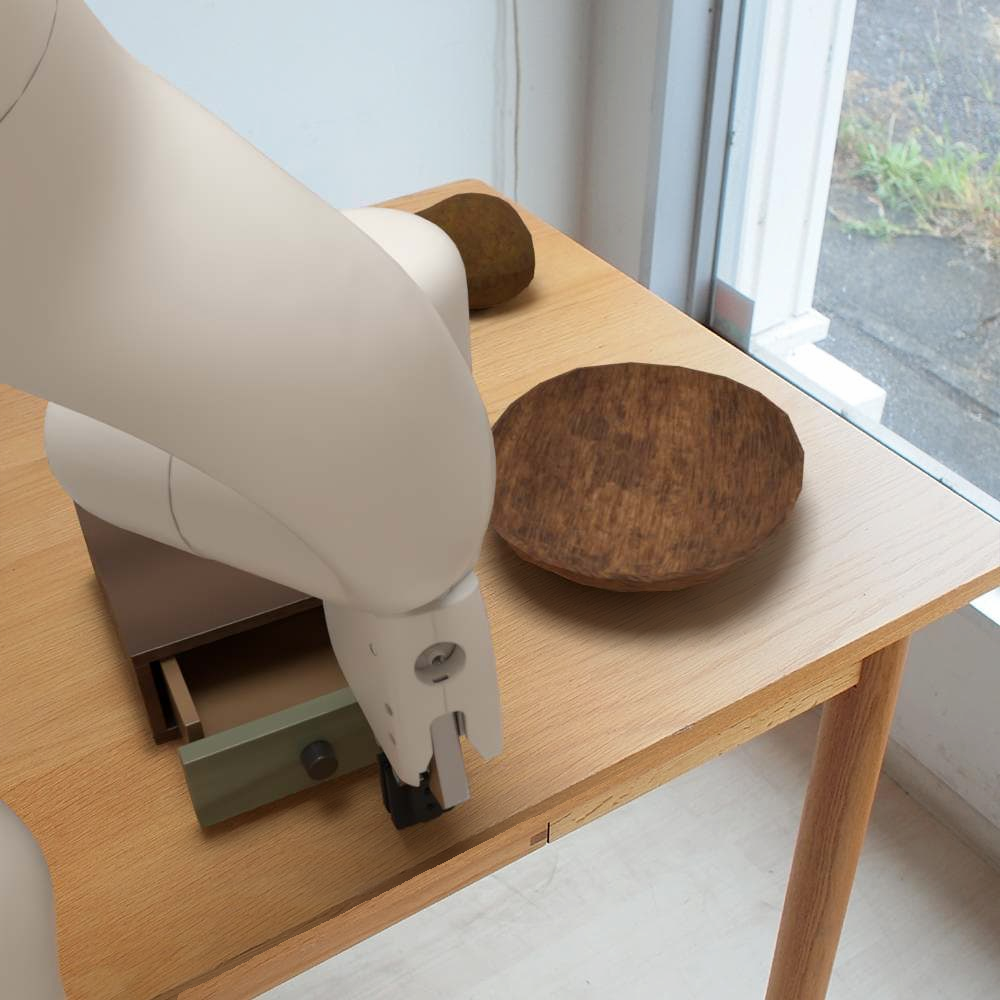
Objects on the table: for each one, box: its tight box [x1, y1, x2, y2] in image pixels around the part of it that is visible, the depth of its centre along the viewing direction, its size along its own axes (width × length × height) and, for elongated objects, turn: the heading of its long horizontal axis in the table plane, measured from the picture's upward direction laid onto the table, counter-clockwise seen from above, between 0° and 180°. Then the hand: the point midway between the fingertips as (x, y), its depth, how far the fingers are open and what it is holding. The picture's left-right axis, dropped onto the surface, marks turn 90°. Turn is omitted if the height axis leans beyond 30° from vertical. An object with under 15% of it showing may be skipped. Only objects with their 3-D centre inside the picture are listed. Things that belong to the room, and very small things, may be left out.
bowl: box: [489, 361, 806, 593], centre depth 82 cm, size 20×22×5 cm
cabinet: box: [72, 499, 323, 745], centre depth 75 cm, size 15×14×7 cm
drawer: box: [153, 605, 384, 829], centre depth 69 cm, size 15×12×5 cm
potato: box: [413, 192, 536, 310], centre depth 103 cm, size 8×12×9 cm
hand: (420, 807), depth 64 cm, fingers closed
